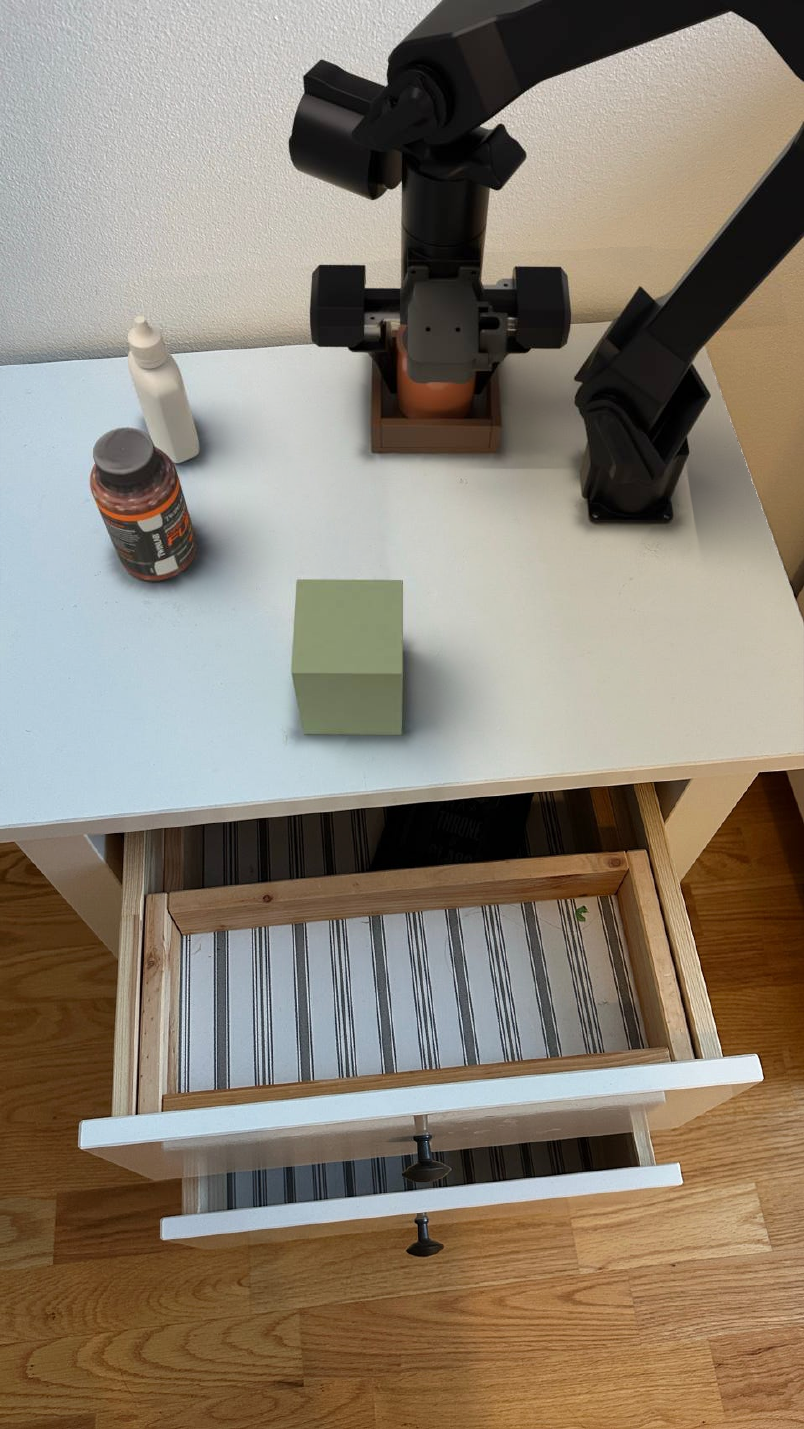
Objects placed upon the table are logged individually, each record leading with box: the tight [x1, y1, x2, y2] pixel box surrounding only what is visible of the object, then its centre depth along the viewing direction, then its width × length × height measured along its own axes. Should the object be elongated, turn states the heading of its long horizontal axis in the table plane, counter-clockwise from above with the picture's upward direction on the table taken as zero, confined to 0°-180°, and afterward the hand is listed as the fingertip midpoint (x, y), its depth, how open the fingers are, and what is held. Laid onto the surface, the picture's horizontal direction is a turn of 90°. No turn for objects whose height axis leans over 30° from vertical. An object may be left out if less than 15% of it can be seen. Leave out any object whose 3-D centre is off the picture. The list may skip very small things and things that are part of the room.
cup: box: [396, 324, 477, 419], centre depth 77 cm, size 6×6×6 cm
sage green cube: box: [290, 578, 404, 736], centre depth 65 cm, size 7×7×9 cm
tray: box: [370, 329, 503, 454], centre depth 79 cm, size 10×10×3 cm
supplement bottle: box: [89, 426, 198, 582], centre depth 69 cm, size 6×6×11 cm
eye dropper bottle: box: [127, 315, 200, 464], centre depth 74 cm, size 4×6×12 cm
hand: (435, 390), depth 79 cm, fingers closed on cup, 6 cm apart
